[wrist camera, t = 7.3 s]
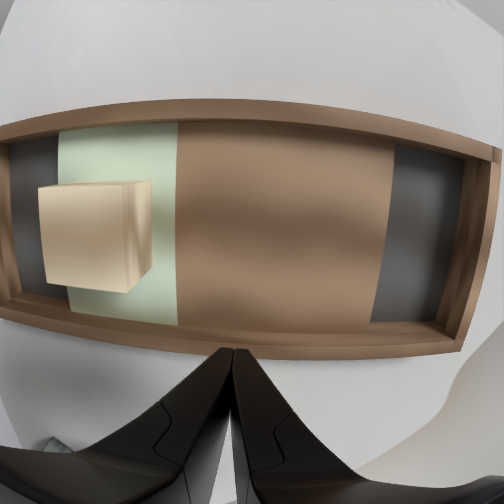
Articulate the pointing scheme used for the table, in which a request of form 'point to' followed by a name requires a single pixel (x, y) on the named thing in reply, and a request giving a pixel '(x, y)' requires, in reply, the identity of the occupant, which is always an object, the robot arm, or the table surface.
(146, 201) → the beech block
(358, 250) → the tray
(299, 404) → the table surface
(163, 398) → the robot arm
